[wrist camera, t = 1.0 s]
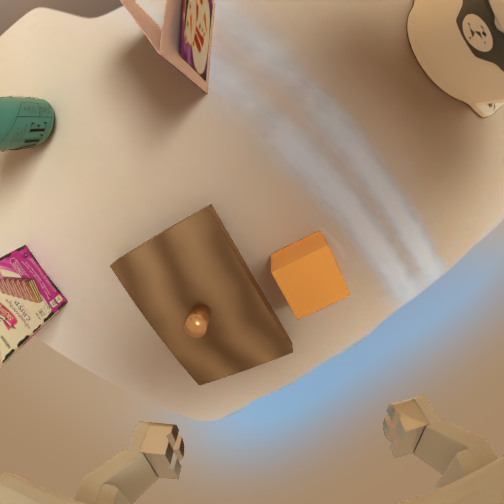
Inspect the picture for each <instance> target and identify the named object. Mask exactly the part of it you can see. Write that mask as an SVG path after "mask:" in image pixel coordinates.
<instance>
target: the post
mask: <svg viewBox="0 0 504 504" xmlns="http://www.w3.org/2000/svg"><path fill="white" fill-rule="evenodd" d="M210 317H211V310H210V308H209V307H208V306H207V305H205V304H202V303H198V304H195V305H194V306H193V307H192V308H191V311H190V313H189V315H188V317H187V320H186V322H185V324H184V330H185V332H186V333H187V334H188V335H189V336H191V337H193V338H200V337H202V336H204V335H205V333H206V330H207V327H208V323H209V320H210Z"/></svg>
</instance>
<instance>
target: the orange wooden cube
mask: <svg viewBox="0 0 504 504" xmlns="http://www.w3.org/2000/svg"><path fill="white" fill-rule="evenodd" d="M271 273H272V275H273V277H274V278H275V280H276V282H277V284H278V286H279V287H280V289H281V291H282V293H283V295H284V296H285V298H286V300H287V302H288V304H289V305H290V307H291V309H292V311H293V313H294V314H295V316H296V318H297V319H300V318H302V317H304V316H306V315H309V314H311V313H313V312H315V311H318V310H320V309H322V308H324V307H326V306H328V305H330V304H333V303H335V302H337V301H339V300H341V299H343V298H345V297H347V296H349V295H350V293H349V291H348V288H347V286H346V284H345V281H344V279H343V277H342V275H341V272H340V270H339V268H338V266H337V263H336V261H335V259H334V257H333V254H332V252H331V250H330V248H329V246H328V244H327V242H326V240H325V239H324V237H323V235H322V234H321V232H320V231H318V232H315V233H313V234H311V235H309V236H307V237H305V238H303V239H301V240H299V241H297V242H295V243H293V244H291V245H289V246H287V247H285V248H283V249H281V250H279V251H277V252H275V253H273V254H271Z"/></svg>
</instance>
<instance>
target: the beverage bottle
mask: <svg viewBox="0 0 504 504" xmlns="http://www.w3.org/2000/svg"><path fill="white" fill-rule="evenodd" d="M36 98H37V97H36ZM53 122H54V113H53V109H52V107H51V105H50V104H49V103H48V102H47V101H45V100H43V99H35V98H33V97H32V98H31V97H30V98H29V97H28V98H26V97H25V98H20V96H19V97H18V96H17V97H10V96H9V97H0V151H4V150H14V149H16V150H19V149H22V148H25V147H28V148H29V147H34V146H35V147H36V146H38V145H40V144H41V143H43V142H44V141H45V140H46V139H47V138H48V136H49V134H50V133H51V130H52V127H53ZM35 147H34V148H35ZM26 149H27V148H26Z"/></svg>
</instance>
